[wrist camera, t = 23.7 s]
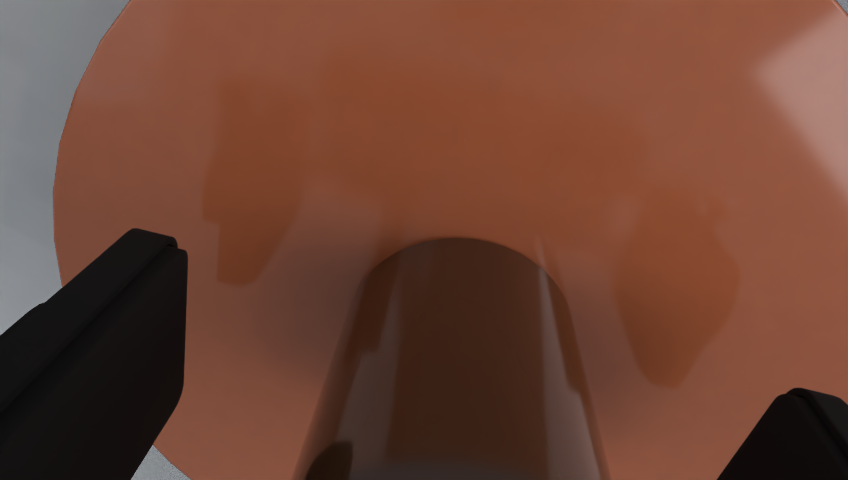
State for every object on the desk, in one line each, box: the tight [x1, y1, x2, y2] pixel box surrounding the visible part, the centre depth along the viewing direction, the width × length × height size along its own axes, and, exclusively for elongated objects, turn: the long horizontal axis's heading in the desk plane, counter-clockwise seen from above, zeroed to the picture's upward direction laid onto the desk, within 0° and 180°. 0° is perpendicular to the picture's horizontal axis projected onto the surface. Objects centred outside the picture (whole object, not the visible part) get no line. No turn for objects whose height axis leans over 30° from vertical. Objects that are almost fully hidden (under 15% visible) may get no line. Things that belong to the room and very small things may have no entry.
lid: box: [53, 0, 848, 480], centre depth 8 cm, size 15×15×7 cm
